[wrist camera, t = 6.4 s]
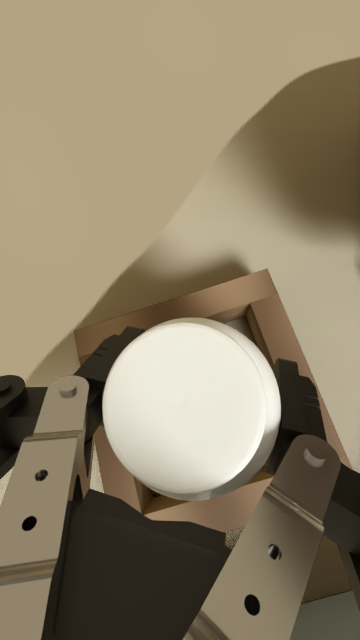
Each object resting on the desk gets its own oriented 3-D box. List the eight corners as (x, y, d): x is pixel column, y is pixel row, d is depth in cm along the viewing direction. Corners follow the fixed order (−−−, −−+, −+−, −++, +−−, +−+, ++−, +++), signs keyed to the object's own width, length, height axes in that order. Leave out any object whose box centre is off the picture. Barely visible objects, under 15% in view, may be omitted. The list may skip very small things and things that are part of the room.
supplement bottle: (266, 440, 16) (349, 505, 6) (167, 466, 16) (88, 571, 6) (234, 341, 17) (257, 264, 7) (144, 367, 18) (53, 324, 8)
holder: (260, 286, 18) (267, 268, 16) (338, 478, 15) (362, 492, 12) (92, 340, 18) (73, 330, 16) (133, 537, 15) (117, 563, 13)
